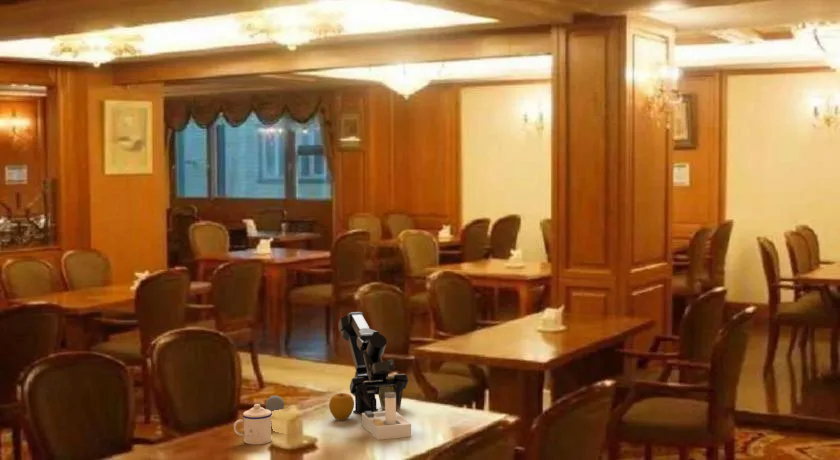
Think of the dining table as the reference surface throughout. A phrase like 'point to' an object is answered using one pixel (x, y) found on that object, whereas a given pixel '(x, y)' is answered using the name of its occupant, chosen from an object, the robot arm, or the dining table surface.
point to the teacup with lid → (256, 425)
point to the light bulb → (274, 403)
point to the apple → (341, 406)
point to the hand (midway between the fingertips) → (384, 405)
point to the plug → (390, 408)
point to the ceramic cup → (387, 389)
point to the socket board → (381, 431)
